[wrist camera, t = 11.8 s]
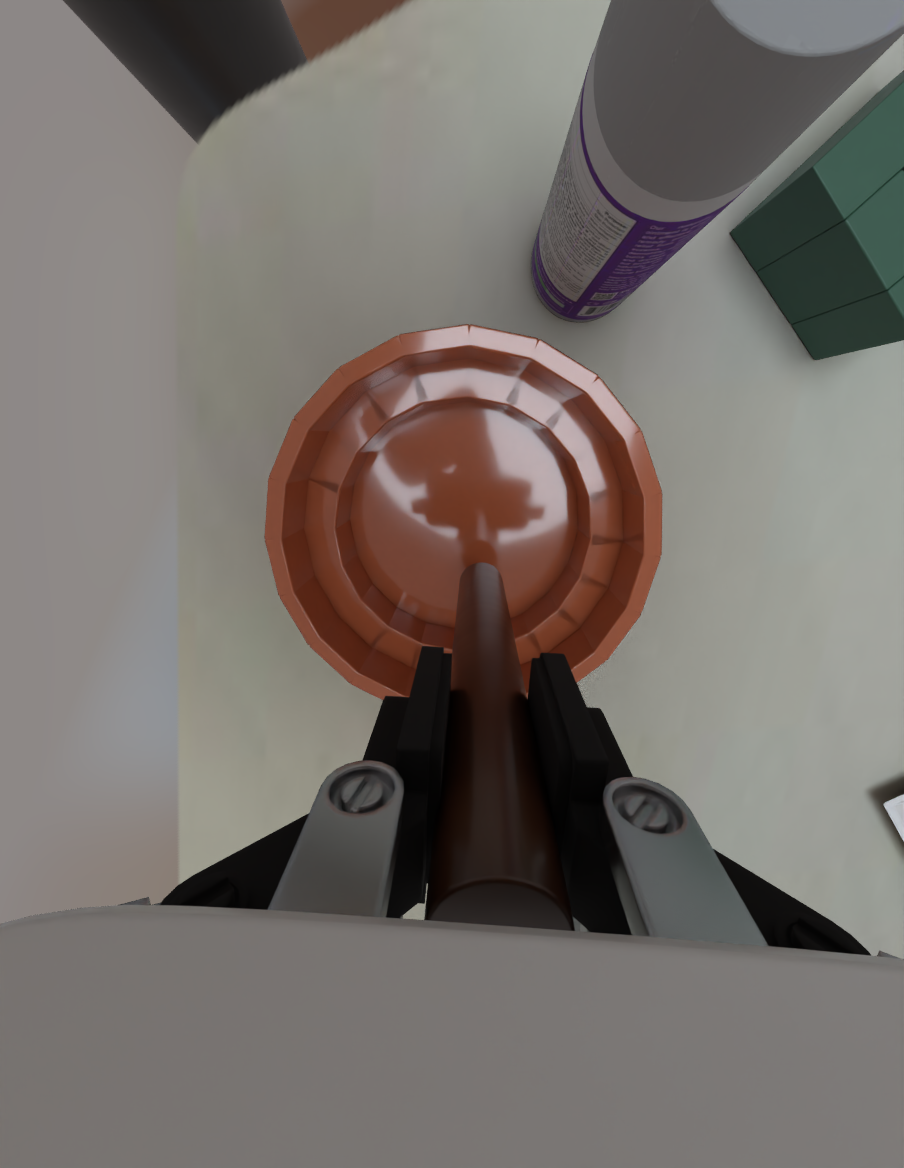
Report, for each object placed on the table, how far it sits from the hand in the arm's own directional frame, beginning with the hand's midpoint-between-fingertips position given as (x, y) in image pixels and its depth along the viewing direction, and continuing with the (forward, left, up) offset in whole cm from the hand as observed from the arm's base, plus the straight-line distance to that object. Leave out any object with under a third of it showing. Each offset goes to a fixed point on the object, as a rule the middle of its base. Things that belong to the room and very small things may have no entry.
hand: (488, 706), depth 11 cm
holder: (0, +21, -14) cm, 25 cm away
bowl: (-2, +1, -14) cm, 14 cm away
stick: (0, 0, -11) cm, 11 cm away
